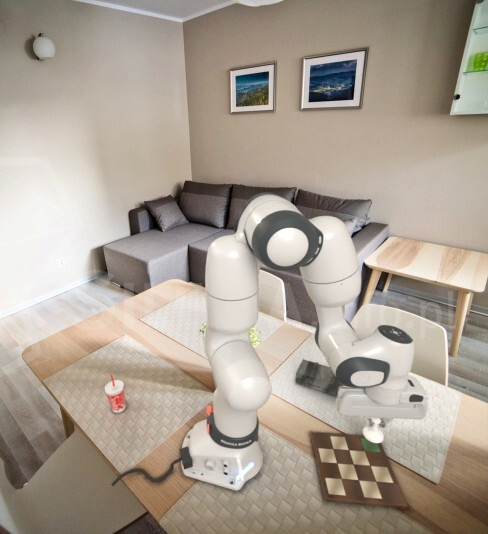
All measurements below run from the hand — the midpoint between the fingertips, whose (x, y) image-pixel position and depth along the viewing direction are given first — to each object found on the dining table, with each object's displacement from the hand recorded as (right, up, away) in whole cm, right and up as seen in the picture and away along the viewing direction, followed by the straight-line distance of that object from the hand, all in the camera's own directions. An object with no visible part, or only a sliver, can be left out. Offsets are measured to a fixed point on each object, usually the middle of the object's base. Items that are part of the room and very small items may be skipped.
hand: (375, 425), depth 85 cm
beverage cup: (-72, -5, +23) cm, 76 cm away
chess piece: (0, -3, +2) cm, 4 cm away
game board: (-6, -11, -1) cm, 12 cm away
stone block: (-4, +2, +27) cm, 27 cm away
